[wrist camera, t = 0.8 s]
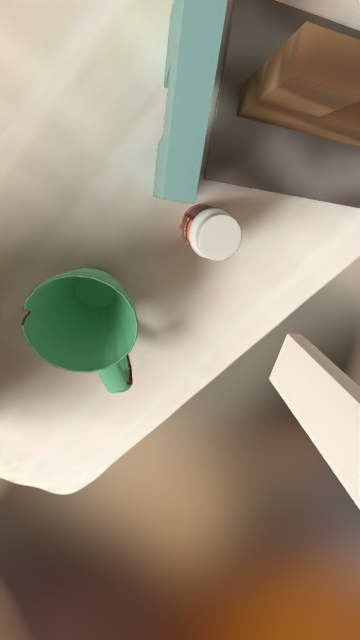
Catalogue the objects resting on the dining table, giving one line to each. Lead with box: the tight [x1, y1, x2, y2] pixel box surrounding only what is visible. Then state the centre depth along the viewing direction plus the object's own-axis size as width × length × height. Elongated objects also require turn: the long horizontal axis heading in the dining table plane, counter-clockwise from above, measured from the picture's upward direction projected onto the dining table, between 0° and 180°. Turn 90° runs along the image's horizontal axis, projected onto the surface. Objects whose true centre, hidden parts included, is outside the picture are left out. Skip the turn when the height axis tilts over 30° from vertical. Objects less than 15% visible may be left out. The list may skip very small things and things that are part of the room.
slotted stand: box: [204, 0, 360, 208], centre depth 22 cm, size 14×20×11 cm
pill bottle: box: [180, 205, 242, 261], centre depth 26 cm, size 5×5×8 cm
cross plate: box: [153, 0, 228, 204], centre depth 21 cm, size 14×2×10 cm, turn 171°
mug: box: [22, 268, 138, 393], centre depth 28 cm, size 15×10×10 cm
